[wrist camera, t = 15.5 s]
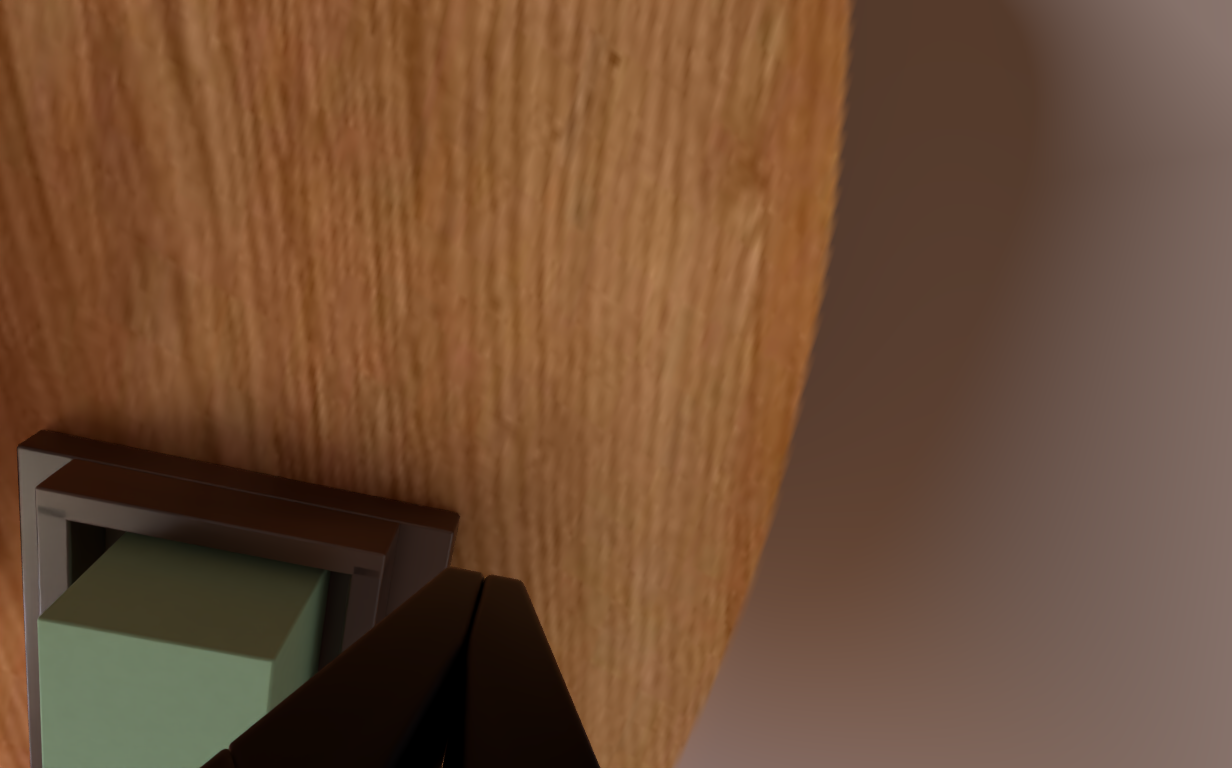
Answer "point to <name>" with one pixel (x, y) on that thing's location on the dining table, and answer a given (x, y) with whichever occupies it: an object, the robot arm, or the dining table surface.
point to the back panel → (214, 532)
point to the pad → (172, 653)
